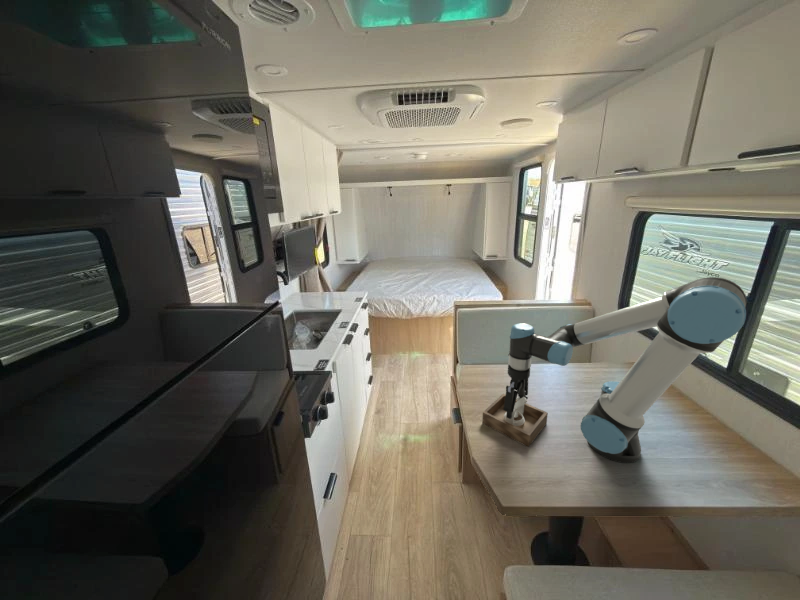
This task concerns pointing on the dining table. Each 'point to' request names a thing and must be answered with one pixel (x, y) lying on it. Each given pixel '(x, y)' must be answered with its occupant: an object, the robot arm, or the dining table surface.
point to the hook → (516, 407)
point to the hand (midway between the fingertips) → (514, 418)
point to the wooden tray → (522, 433)
